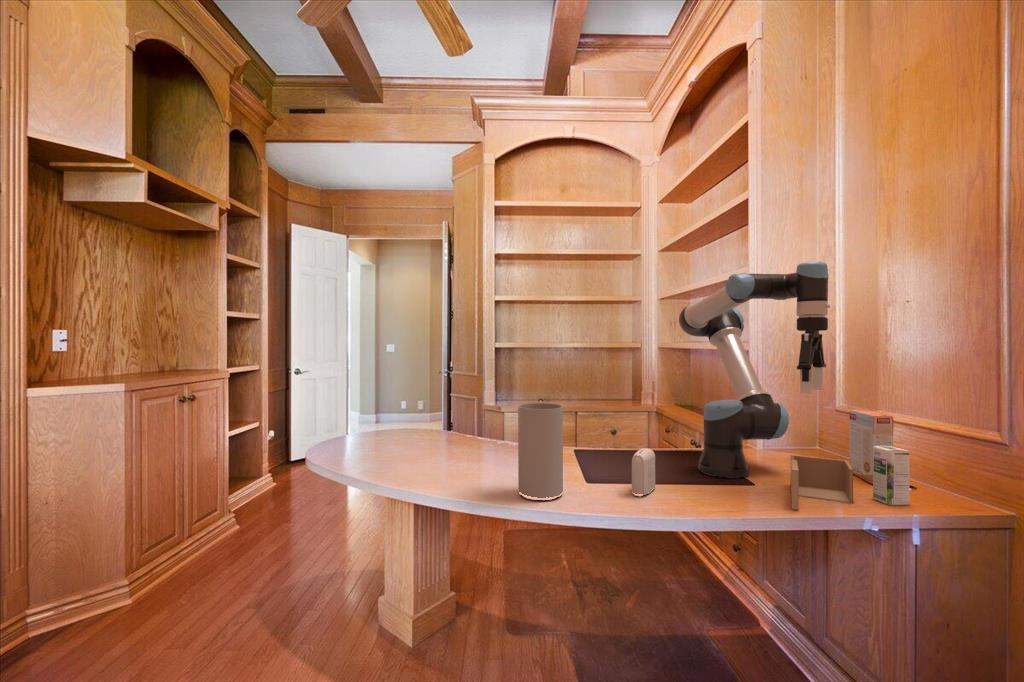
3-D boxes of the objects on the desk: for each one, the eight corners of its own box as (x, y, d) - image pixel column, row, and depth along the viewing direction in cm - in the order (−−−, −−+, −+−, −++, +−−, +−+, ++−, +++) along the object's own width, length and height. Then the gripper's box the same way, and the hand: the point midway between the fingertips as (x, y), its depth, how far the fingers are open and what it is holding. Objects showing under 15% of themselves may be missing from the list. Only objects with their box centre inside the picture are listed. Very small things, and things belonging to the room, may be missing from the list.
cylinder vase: (556, 504, 126) (556, 410, 126) (512, 499, 130) (511, 407, 130) (567, 490, 137) (567, 404, 137) (526, 486, 142) (526, 402, 142)
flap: (790, 495, 131) (790, 459, 131) (797, 496, 131) (796, 460, 131) (791, 508, 121) (791, 469, 121) (798, 509, 120) (798, 470, 120)
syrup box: (871, 498, 129) (871, 445, 129) (891, 498, 130) (891, 445, 130) (890, 506, 124) (889, 450, 124) (910, 505, 124) (910, 449, 124)
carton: (791, 495, 132) (791, 463, 132) (790, 485, 142) (790, 455, 142) (853, 503, 126) (853, 469, 126) (847, 492, 135) (847, 460, 135)
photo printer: (642, 486, 141) (642, 444, 141) (657, 489, 139) (657, 446, 139) (629, 495, 133) (629, 451, 133) (644, 498, 130) (644, 453, 130)
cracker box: (895, 486, 140) (894, 415, 140) (872, 485, 141) (871, 415, 141) (869, 473, 154) (869, 409, 154) (848, 472, 155) (848, 408, 155)
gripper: (817, 314, 123) (817, 396, 123) (836, 317, 141) (836, 388, 141) (785, 315, 128) (785, 394, 128) (807, 318, 146) (807, 387, 147)
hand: (811, 391), depth 135 cm, fingers open, 13 cm apart
